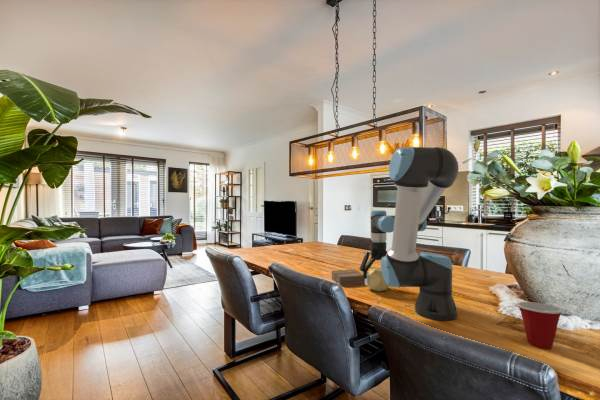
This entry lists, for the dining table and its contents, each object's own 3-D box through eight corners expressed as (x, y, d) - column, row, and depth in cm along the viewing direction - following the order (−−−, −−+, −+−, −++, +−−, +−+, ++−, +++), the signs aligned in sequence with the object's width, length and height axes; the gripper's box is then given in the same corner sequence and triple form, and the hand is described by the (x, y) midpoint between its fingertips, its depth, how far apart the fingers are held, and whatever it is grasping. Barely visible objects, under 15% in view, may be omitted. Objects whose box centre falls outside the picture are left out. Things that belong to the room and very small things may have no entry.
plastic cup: (544, 336, 92) (544, 299, 92) (573, 354, 82) (573, 312, 82) (509, 335, 93) (509, 298, 93) (532, 352, 83) (532, 311, 83)
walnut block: (365, 285, 150) (365, 275, 150) (340, 286, 147) (340, 277, 147) (354, 278, 164) (354, 269, 164) (331, 279, 161) (331, 270, 161)
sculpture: (380, 294, 133) (380, 272, 133) (361, 288, 143) (361, 267, 143) (395, 290, 140) (395, 268, 140) (376, 284, 150) (376, 264, 150)
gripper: (396, 239, 148) (396, 280, 148) (352, 240, 143) (352, 283, 143) (404, 241, 140) (404, 284, 141) (358, 243, 136) (358, 288, 136)
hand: (378, 284), depth 142 cm, fingers closed on sculpture, 12 cm apart
